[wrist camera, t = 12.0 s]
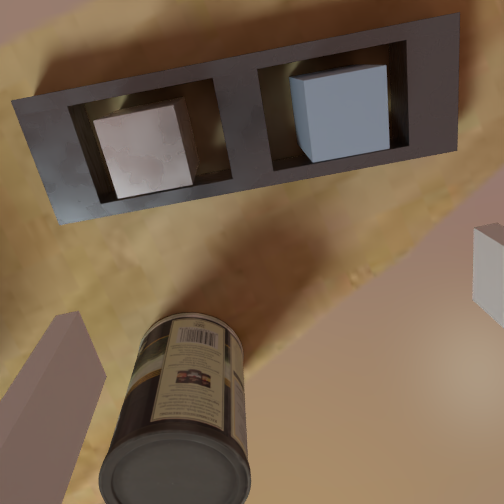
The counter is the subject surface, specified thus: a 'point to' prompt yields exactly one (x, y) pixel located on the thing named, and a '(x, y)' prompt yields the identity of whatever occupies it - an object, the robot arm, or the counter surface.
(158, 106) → the pale wooden cube
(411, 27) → the dark grey compartment tray
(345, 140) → the blue-grey rectangular block
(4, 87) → the counter surface
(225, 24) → the counter surface
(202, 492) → the coffee can
